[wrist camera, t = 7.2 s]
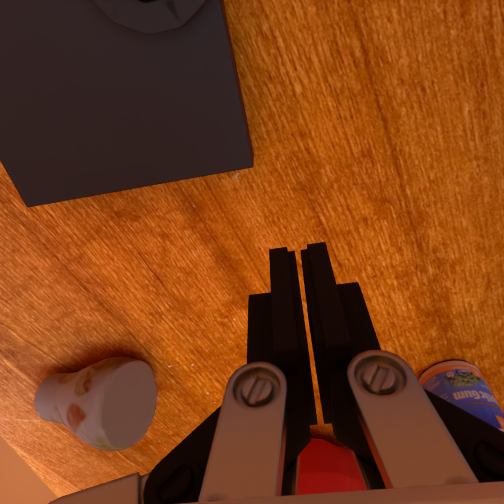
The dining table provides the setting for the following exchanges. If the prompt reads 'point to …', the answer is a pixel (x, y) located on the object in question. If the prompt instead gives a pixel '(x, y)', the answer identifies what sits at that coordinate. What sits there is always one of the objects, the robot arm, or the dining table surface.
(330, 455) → the tomato
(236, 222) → the dining table surface
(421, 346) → the dining table surface
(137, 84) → the scale
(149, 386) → the white floral vase
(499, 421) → the pill bottle
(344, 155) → the dining table surface
